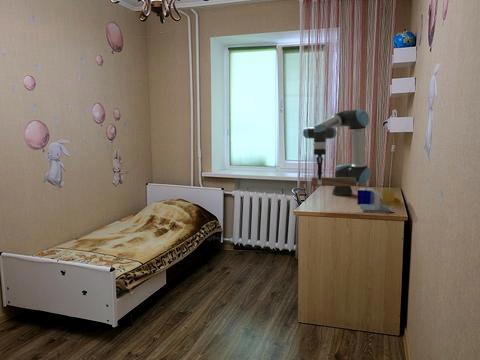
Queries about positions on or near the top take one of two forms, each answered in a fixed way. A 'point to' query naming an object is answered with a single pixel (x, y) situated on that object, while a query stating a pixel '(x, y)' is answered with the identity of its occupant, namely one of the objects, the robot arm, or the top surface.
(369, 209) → the slate base
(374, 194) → the steel ridge
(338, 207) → the top surface
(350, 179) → the walnut batten
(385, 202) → the dollhouse swing
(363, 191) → the puzzle cube
